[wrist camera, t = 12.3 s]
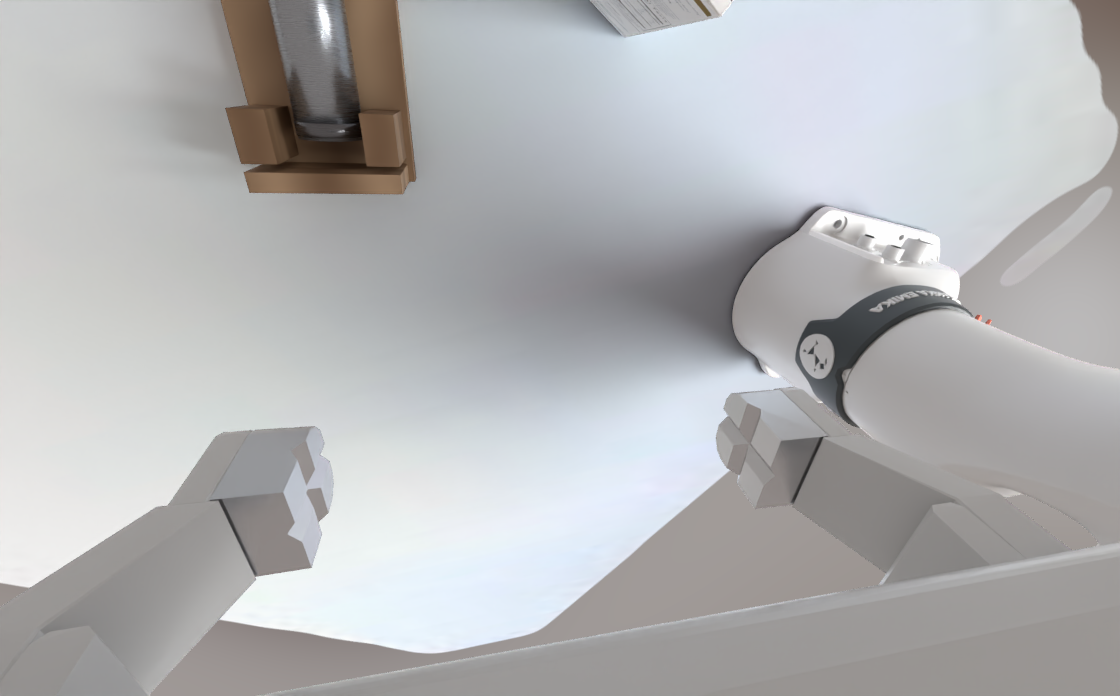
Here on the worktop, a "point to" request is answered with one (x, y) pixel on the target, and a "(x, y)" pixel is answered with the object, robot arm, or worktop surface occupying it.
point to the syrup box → (657, 13)
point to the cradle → (270, 119)
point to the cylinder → (318, 68)
